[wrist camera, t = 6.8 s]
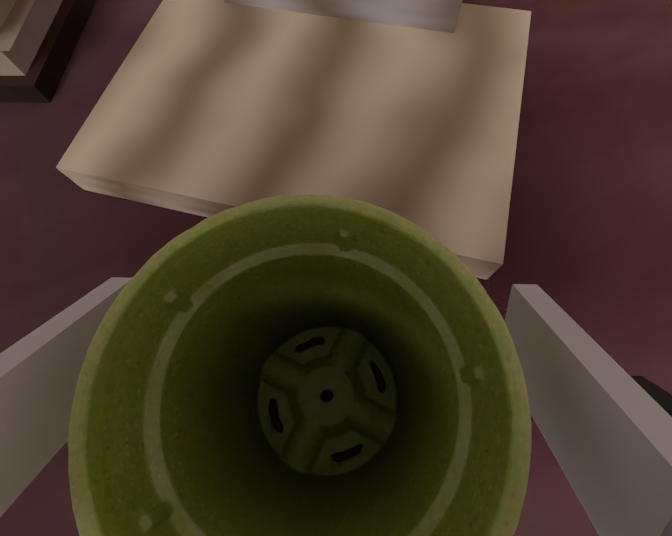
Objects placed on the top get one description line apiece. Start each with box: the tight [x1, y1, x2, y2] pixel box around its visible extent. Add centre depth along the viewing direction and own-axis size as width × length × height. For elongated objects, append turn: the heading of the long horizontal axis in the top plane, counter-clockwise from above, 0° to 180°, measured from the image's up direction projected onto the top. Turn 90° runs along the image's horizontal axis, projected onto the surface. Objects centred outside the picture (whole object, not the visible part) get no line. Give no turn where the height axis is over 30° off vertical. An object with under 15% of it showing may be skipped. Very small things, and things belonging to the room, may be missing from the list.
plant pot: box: [68, 194, 532, 536], centre depth 11 cm, size 9×9×9 cm
